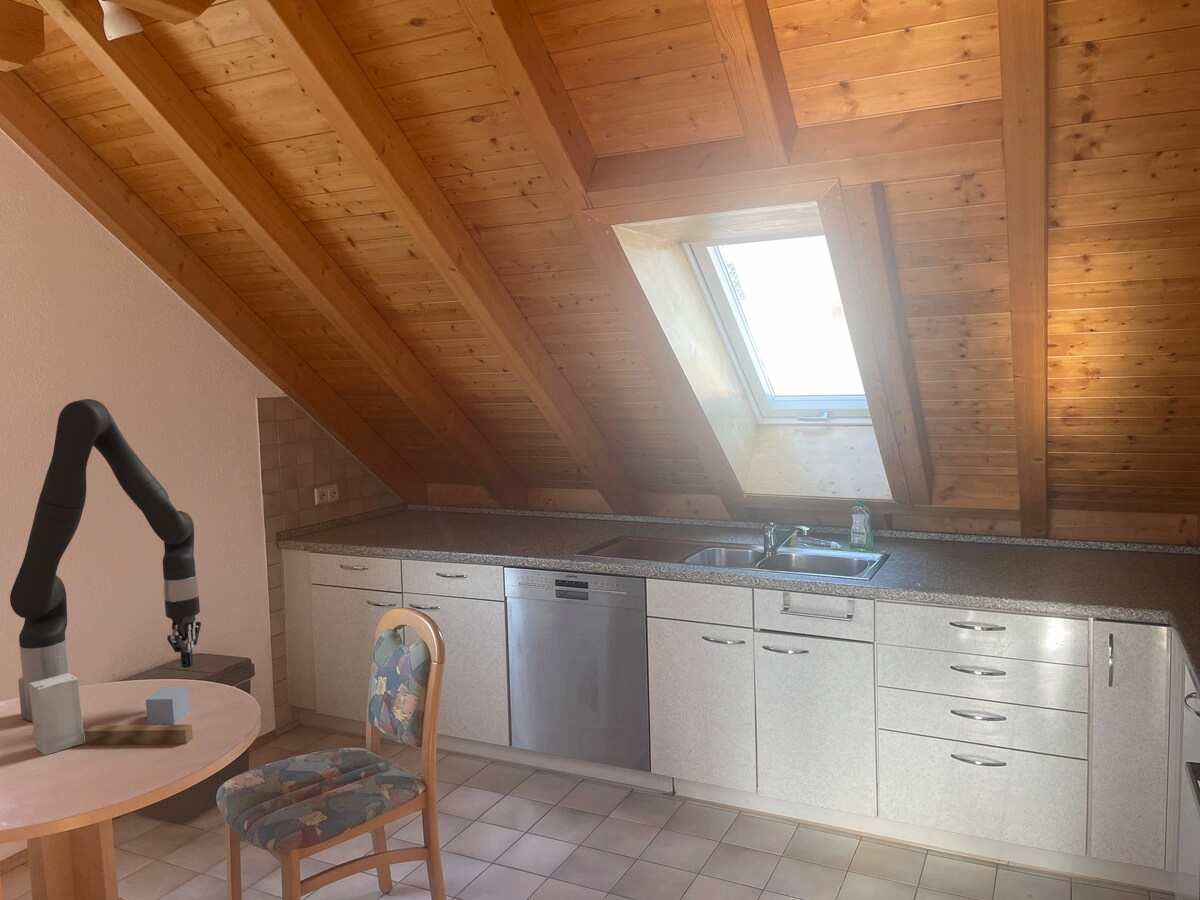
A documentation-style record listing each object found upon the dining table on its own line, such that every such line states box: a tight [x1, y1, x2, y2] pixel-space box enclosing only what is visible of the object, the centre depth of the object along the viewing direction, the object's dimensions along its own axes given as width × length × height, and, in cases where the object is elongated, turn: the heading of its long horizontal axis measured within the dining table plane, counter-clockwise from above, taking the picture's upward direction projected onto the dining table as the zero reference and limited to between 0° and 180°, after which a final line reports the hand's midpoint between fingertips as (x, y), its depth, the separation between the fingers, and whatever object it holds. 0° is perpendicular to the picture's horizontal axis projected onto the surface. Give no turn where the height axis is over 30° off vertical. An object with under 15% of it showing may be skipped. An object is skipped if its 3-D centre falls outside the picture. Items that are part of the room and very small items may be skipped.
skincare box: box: [29, 672, 85, 756], centre depth 205 cm, size 8×6×15 cm
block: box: [145, 686, 190, 725], centre depth 221 cm, size 6×8×6 cm
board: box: [83, 723, 194, 746], centre depth 207 cm, size 22×3×3 cm, turn 88°
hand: (187, 666), depth 230 cm, fingers closed
